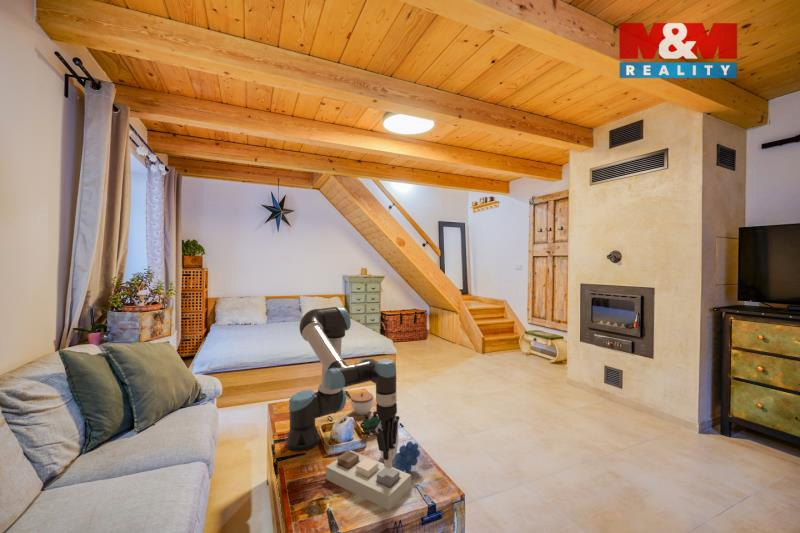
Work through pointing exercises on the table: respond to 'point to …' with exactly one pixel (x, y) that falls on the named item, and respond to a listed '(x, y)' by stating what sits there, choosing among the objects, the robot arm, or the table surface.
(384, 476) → the slate key
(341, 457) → the walnut key
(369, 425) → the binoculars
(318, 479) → the table surface
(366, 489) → the key panel
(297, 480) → the table surface
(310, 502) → the table surface
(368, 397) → the lidded bowl
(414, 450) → the grapes
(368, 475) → the ivory key
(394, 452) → the cup
